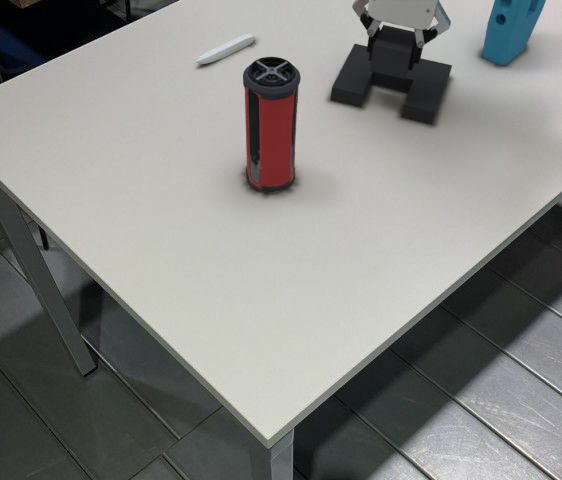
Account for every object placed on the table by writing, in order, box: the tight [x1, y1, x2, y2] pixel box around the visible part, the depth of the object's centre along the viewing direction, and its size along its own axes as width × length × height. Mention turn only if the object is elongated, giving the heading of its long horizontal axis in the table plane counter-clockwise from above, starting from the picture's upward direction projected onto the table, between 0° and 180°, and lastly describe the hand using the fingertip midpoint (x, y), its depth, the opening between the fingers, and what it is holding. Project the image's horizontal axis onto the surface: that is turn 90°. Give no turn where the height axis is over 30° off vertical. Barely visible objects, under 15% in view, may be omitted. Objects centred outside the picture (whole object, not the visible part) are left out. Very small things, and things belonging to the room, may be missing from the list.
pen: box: [195, 33, 256, 65], centre depth 113 cm, size 2×14×2 cm, turn 132°
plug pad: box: [370, 24, 416, 79], centre depth 101 cm, size 6×6×4 cm
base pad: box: [330, 43, 453, 126], centre depth 109 cm, size 18×14×2 cm
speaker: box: [242, 56, 302, 193], centre depth 89 cm, size 8×8×18 cm
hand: (392, 60), depth 102 cm, fingers closed on plug pad, 6 cm apart
